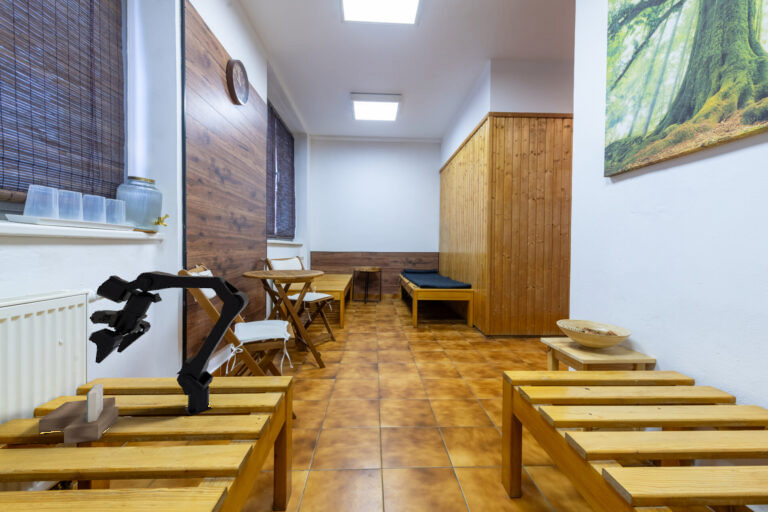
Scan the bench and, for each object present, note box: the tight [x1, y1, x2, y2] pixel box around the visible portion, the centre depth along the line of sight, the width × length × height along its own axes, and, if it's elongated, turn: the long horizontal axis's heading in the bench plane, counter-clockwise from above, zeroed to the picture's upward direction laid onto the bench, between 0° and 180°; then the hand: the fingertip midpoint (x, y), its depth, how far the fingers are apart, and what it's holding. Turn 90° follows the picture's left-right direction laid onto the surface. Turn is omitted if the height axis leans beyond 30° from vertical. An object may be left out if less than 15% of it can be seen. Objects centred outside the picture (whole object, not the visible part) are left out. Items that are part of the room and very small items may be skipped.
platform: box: [38, 396, 119, 445], centre depth 84 cm, size 16×16×4 cm
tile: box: [86, 382, 104, 422], centre depth 83 cm, size 2×6×8 cm, turn 32°
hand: (108, 357), depth 90 cm, fingers open, 9 cm apart
